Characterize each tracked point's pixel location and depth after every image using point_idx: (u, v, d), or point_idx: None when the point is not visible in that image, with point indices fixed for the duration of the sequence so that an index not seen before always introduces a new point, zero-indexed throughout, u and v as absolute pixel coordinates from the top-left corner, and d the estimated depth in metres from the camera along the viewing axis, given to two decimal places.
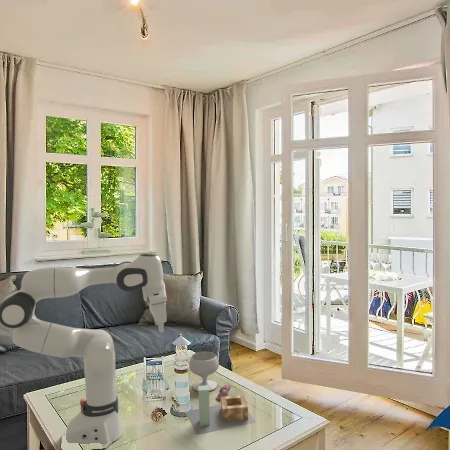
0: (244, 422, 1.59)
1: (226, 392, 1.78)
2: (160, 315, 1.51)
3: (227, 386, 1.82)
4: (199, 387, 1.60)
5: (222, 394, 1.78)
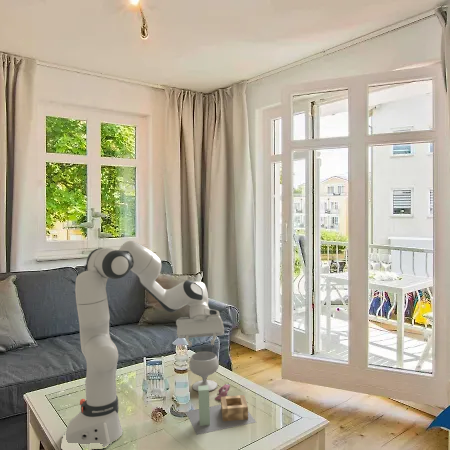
0: (244, 422, 1.59)
1: (225, 392, 1.78)
2: None
3: (226, 386, 1.82)
4: (199, 387, 1.60)
5: (221, 394, 1.78)
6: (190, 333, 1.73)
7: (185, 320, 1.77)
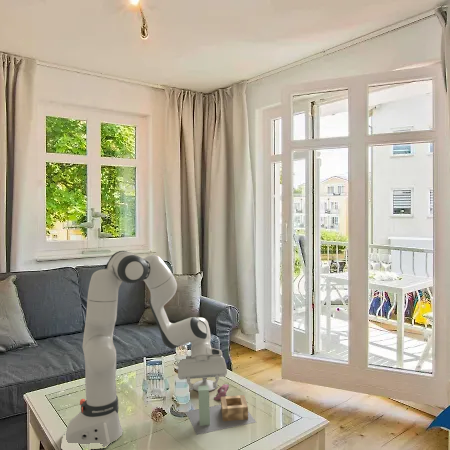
0: (244, 422, 1.59)
1: (224, 392, 1.78)
2: None
3: (225, 386, 1.82)
4: (199, 387, 1.60)
5: (220, 394, 1.78)
6: (191, 374, 1.66)
7: (186, 360, 1.69)
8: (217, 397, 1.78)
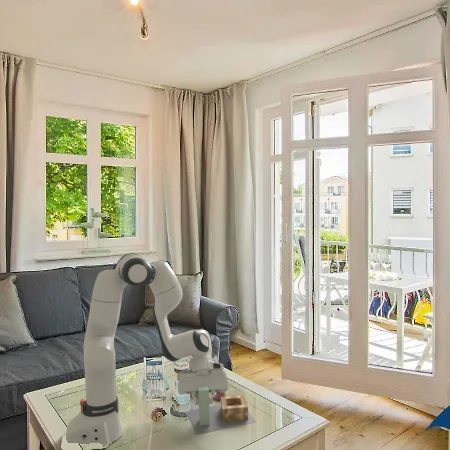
0: (244, 422, 1.59)
1: (223, 392, 1.78)
2: None
3: None
4: (199, 387, 1.60)
5: (219, 394, 1.78)
6: (192, 390, 1.61)
7: (187, 374, 1.65)
8: (216, 397, 1.78)
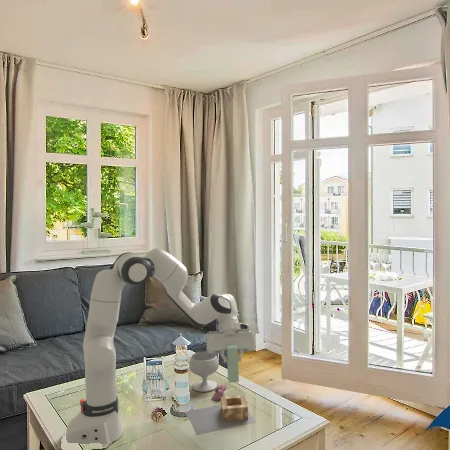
0: (244, 422, 1.59)
1: (222, 392, 1.79)
2: None
3: (223, 386, 1.82)
4: (228, 346, 1.65)
5: (218, 394, 1.78)
6: (221, 348, 1.66)
7: (215, 334, 1.70)
8: (215, 397, 1.78)
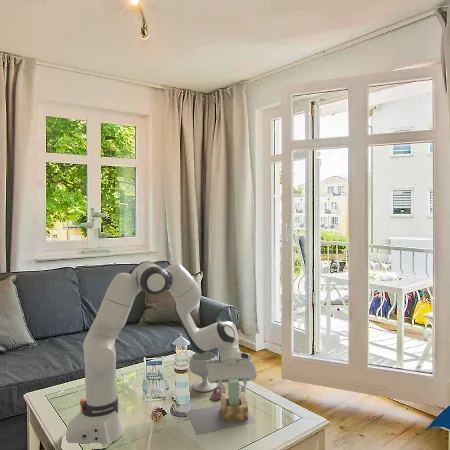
0: (244, 422, 1.59)
1: (220, 392, 1.79)
2: None
3: None
4: (229, 379, 1.66)
5: (216, 394, 1.78)
6: (222, 378, 1.67)
7: (216, 364, 1.70)
8: (213, 397, 1.78)
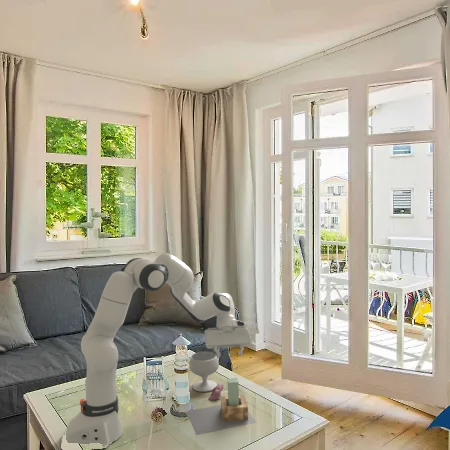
0: (244, 422, 1.59)
1: (219, 392, 1.79)
2: None
3: (220, 386, 1.82)
4: (228, 379, 1.66)
5: (215, 394, 1.78)
6: (219, 344, 1.79)
7: (213, 331, 1.82)
8: (212, 397, 1.78)
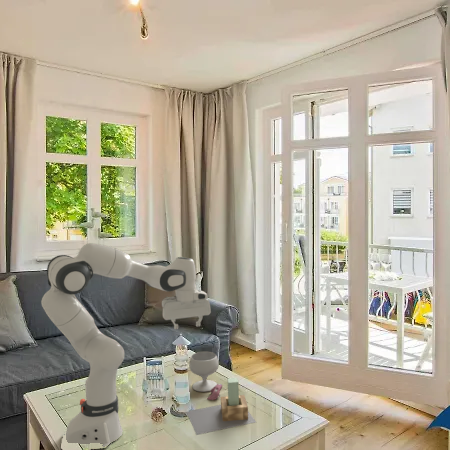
0: (244, 422, 1.59)
1: (217, 392, 1.79)
2: None
3: (218, 386, 1.82)
4: (228, 379, 1.66)
5: (213, 394, 1.78)
6: (177, 318, 1.69)
7: (172, 304, 1.68)
8: (210, 397, 1.78)
